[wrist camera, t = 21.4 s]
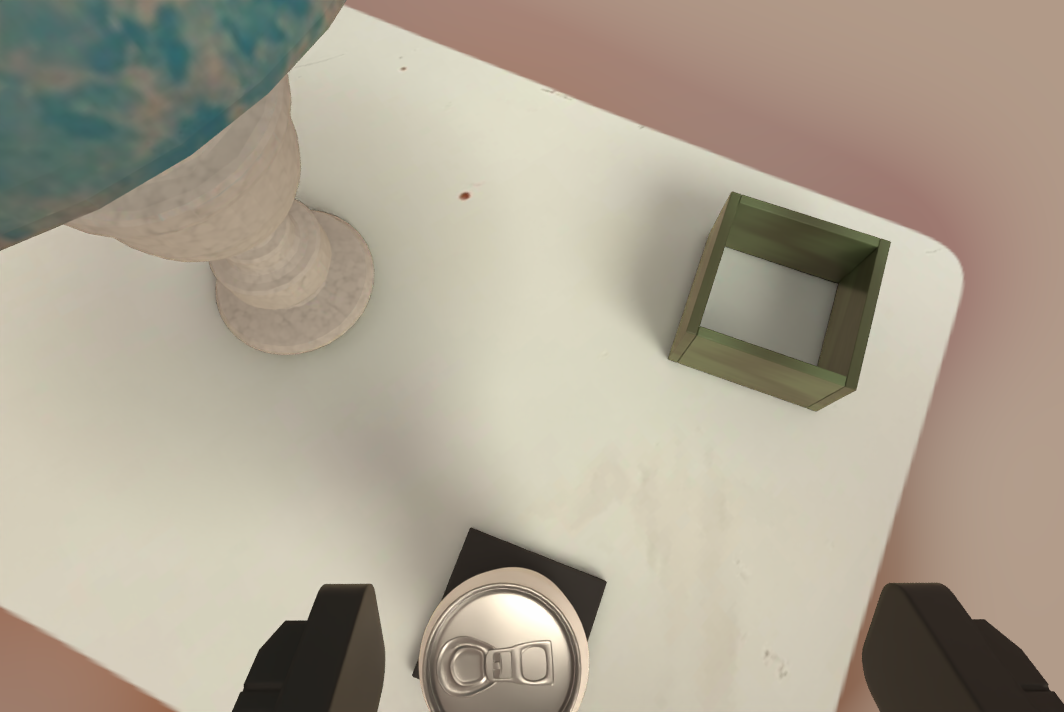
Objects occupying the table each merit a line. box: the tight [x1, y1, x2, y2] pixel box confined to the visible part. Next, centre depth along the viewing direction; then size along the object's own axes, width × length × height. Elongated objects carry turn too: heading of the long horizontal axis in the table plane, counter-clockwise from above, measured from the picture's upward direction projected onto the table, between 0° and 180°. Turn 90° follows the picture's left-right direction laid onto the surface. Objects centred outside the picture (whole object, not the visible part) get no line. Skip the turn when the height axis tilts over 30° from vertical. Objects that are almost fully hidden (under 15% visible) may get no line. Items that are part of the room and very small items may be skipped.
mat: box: [412, 528, 607, 679], centre depth 34 cm, size 8×8×1 cm
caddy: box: [668, 192, 891, 411], centre depth 38 cm, size 9×9×5 cm
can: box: [419, 567, 589, 712], centre depth 28 cm, size 6×6×12 cm
